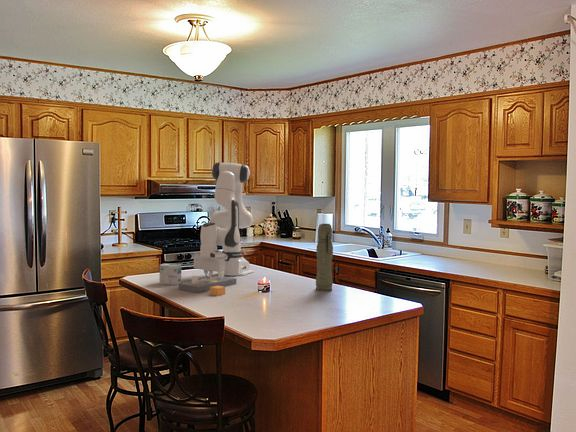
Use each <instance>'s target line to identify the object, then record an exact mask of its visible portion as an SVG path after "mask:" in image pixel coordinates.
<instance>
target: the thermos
mask: <svg viewBox="0 0 576 432" xmlns="http://www.w3.org/2000/svg"><path fill="white" fill-rule="evenodd" d="M332 239H333V228H332V224H330V223H320V224H319V225H318V228H317V244H316V248H315V249H316V251H315V252H316V276H315V290H316V291H320V292H329V291H332V290H333V277H334V276H333V273H332V271H333V264H332V263H333V257H334V251H333V250H334V245H333V242H332Z"/></svg>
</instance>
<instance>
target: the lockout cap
mask: <svg viewBox="0 0 576 432" xmlns="http://www.w3.org/2000/svg"><path fill="white" fill-rule="evenodd" d="M209 294H210V295H212V296H217V297H218V296H223V295H226V286H225V287H223V286H213V287H210V290H209Z"/></svg>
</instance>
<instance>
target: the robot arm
mask: <svg viewBox="0 0 576 432" xmlns="http://www.w3.org/2000/svg"><path fill="white" fill-rule="evenodd" d="M211 174H212V178H213V179H214V180H216V184H215V190H214V200H215V203H217V204H218V205H219V206H221V207H222V208H224V209H225V210H217V211H214V212H212V214H211V216H210V222H204V223H203V224H202V225H201V227H200V228H201V229H200V242H201V243H200V251H196V252H195V253H194V258H193V265H192V266H193V269H195V270H202V271H203V273H204V275H205V278H208V279H211V278H212V277H213V274H214V272H217V273H218V272H222V271H224V276H228V277H229V276H230V277H231V276H246V275H249V274H252V273H254V271H255V270H254V269H251V265H250V262H249V261H248V260H247V259H245V257H244V256H243V255H245V254H246V251H243V250H241V247H242V244H241V241H242V239H241V232H240V229H246V228H249V227H251V226H252V225H253V221H254V219H253V218H254V217H253V214H252V213H251V212H250V211H249V210H247V208H246V207H245V205H244V202H243V183H247V181H249V178H250V175H251V171H250V167H249V166H248V165H246V164H244V163H243V164H242V163H236V162H222V161H220V162H215V163H214V164H213V166H212V168H211ZM218 246H221V247H222V250H219V249H218Z"/></svg>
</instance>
